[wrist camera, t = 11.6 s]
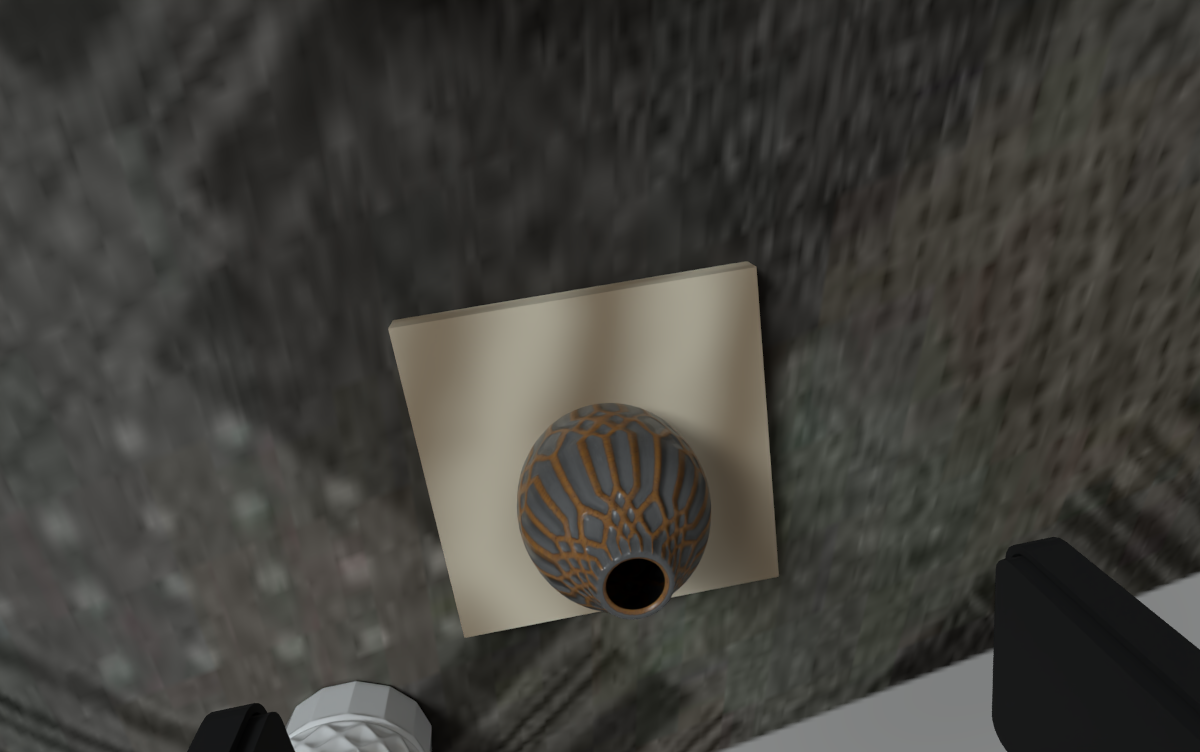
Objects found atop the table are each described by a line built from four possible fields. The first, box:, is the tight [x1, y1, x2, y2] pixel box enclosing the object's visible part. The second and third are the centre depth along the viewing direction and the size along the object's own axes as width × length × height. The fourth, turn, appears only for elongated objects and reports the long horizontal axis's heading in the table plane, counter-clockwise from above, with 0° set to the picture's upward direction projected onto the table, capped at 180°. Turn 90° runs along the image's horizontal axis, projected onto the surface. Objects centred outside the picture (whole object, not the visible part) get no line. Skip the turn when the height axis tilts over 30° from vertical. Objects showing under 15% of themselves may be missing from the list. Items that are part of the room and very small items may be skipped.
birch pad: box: [388, 261, 779, 638], centre depth 31 cm, size 14×14×1 cm
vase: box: [517, 403, 711, 619], centre depth 27 cm, size 7×7×9 cm
